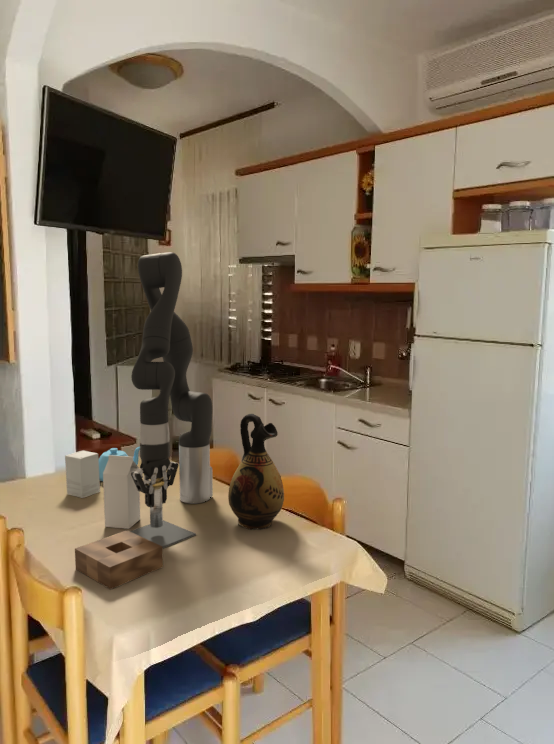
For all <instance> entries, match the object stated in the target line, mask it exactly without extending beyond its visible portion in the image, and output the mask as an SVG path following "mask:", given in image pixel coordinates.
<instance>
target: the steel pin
mask: <svg viewBox="0 0 554 744" xmlns="http://www.w3.org/2000/svg"><path fill="white" fill-rule="evenodd" d="M163 485H164V481H161V480H158V479H156V482H155V484H154V485H153V487H154V488H153V493H154V507H152V508H150V507H149V524H150V526H151V527H153V528H159V527H162V526H163V520H164V519H163V518H164V517H163V516H164V515H163V514H164V511H163V504H162V486H163ZM147 486H149V484H147Z"/></svg>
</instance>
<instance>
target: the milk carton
mask: <svg viewBox="0 0 554 744" xmlns="http://www.w3.org/2000/svg"><path fill="white" fill-rule="evenodd" d="M133 457H134V456H129V455H128V456H113V455H109V460H108V462H107V465H106V467H105V470H104V472H103V482H102V483H103V505H104V506H103V508H104V509H103V510H104V511H103V512H104V527H106V528H107V527H108V528H114V529H115V528H116V529H125V530H127V529H128V530H129V529H131V528H132V527H133V526H134V525H135V524H136V523H137V522H139V521H140V519H141V502H140V501H141V499H140V496H141V495H140V494H141V492H139V491H138V490H137V488H136V485H135V483H134V481H133V478H132V476H131V472H133V471H134V472H136V471H137V470H138V469H140V466H138V465H136V463H135V462H134V461H133Z"/></svg>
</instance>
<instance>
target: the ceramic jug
mask: <svg viewBox="0 0 554 744" xmlns="http://www.w3.org/2000/svg"><path fill="white" fill-rule="evenodd" d="M251 422H252V423H253V426H254V428H253V429H252V430H251V432H249V428H248V427H249V423H251ZM239 425H240V427H239V428H240V429H239V431H240V438H241V443H242V444H241V445H242V448H243V455H242V458H241V462H240V463H239V465H238V467H237V468H236V470H235V472H234V473H233V475H232V477H231V481H230V484H229V487H228V495H227V497H228V505H229V506H230V509H231V511H232V512H233V514H234V515H235V516H236V517H237V522H238V524H239V525H240V526H241V527H243V528H245V529H247V530H251V531H252V530H263V529H268V528H270V526H272V525H273V520H274V519H275V518H276V517H277V516H278V514H279V513H280V512H281V511H282V508H283V506H284V502H285V490H284V485H283V480H282V475H281V474H280V472H279V470H278V469H277V466H276V465H275V463H274V461H273V459H272V457H270V455H269V454H268V452H267V450H266V448H265V442H266V441H267V440H269V439H272V438H276V437H277V436H278V435H279V433H278V430H277V427H276V426H275V425H274V424H273V423H272V422H269V423H268V424H265V423H263V421H262V419H261V417H260V416H258V415H256V414H254V413H248V414H246V415H244V416H243V417H242V419H241V420H240V424H239ZM250 438H251V439H252V443H251V442H250V441H251V440H250ZM271 524H272V525H271Z"/></svg>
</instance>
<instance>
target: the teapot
mask: <svg viewBox="0 0 554 744" xmlns="http://www.w3.org/2000/svg"><path fill="white" fill-rule="evenodd" d="M109 455H113V456H129V455H128V454H127V453H126V451H124V450H118V448H117V447H112V448H109V449H108V450H106V451H104V452H103V453H102V454H101V455H100V456H99V457H98V459H99V481H100V482H102V483H103V472H104V470H105V467H106V465H107V462H108V460H109ZM139 455H140V445H139V446H138V447H136V448H135V449H134V453H133V456H132V457H133V461H134V462H135V463H136V465H137V466H138V464H139V460H140V459H139Z"/></svg>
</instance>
